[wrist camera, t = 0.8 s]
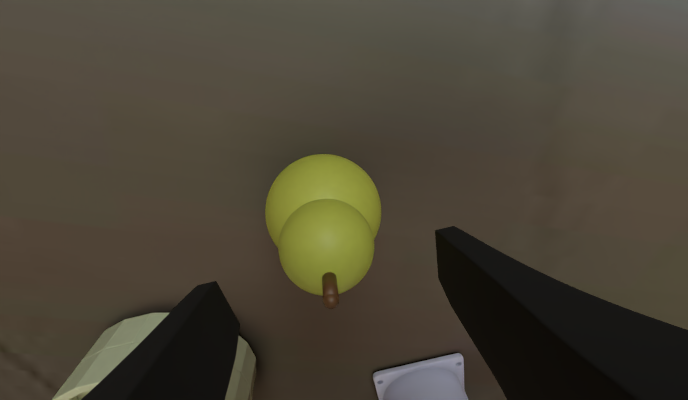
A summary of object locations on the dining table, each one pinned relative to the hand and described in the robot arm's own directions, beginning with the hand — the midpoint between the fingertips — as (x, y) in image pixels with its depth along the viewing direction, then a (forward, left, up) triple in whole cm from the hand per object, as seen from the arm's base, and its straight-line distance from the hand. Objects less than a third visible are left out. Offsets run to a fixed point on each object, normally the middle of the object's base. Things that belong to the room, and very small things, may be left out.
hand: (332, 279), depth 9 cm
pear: (0, 0, -8) cm, 8 cm away
